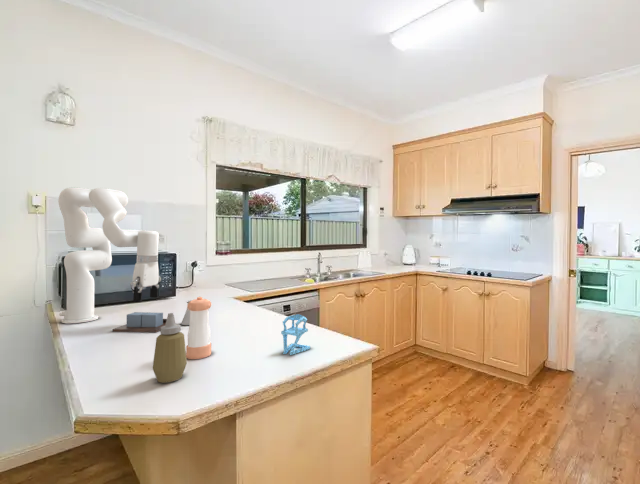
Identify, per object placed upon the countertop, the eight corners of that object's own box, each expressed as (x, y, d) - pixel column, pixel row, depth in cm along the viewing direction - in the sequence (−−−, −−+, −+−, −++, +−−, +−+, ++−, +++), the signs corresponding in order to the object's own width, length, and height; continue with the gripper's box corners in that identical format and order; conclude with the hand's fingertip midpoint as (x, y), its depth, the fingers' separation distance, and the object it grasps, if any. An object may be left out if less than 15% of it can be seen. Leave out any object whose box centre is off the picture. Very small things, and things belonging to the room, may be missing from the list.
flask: (203, 321, 152) (203, 299, 152) (193, 326, 145) (193, 302, 145) (188, 321, 153) (188, 299, 153) (177, 325, 146) (177, 302, 146)
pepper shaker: (185, 360, 105) (186, 299, 106) (186, 353, 112) (187, 295, 112) (211, 357, 109) (212, 298, 109) (210, 350, 115) (211, 294, 115)
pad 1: (126, 326, 139) (126, 314, 139) (134, 323, 144) (134, 312, 144) (140, 327, 139) (140, 314, 139) (148, 324, 144) (148, 312, 144)
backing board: (112, 331, 136) (112, 325, 136) (134, 323, 148) (134, 318, 148) (155, 332, 135) (156, 326, 135) (174, 324, 147) (174, 318, 147)
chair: (277, 353, 113) (277, 317, 113) (292, 345, 121) (292, 312, 121) (296, 356, 110) (297, 319, 110) (310, 348, 118) (311, 314, 118)
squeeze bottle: (162, 373, 96) (163, 310, 96) (191, 372, 97) (192, 309, 97) (145, 385, 88) (146, 316, 88) (177, 384, 89) (178, 316, 89)
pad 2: (141, 327, 139) (141, 314, 139) (149, 324, 144) (149, 312, 144) (155, 327, 139) (155, 315, 139) (163, 324, 144) (163, 312, 144)
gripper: (152, 257, 152) (151, 295, 152) (123, 260, 135) (121, 303, 135) (169, 258, 152) (167, 296, 152) (141, 261, 135) (139, 304, 135)
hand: (145, 299), depth 143 cm, fingers open, 9 cm apart
